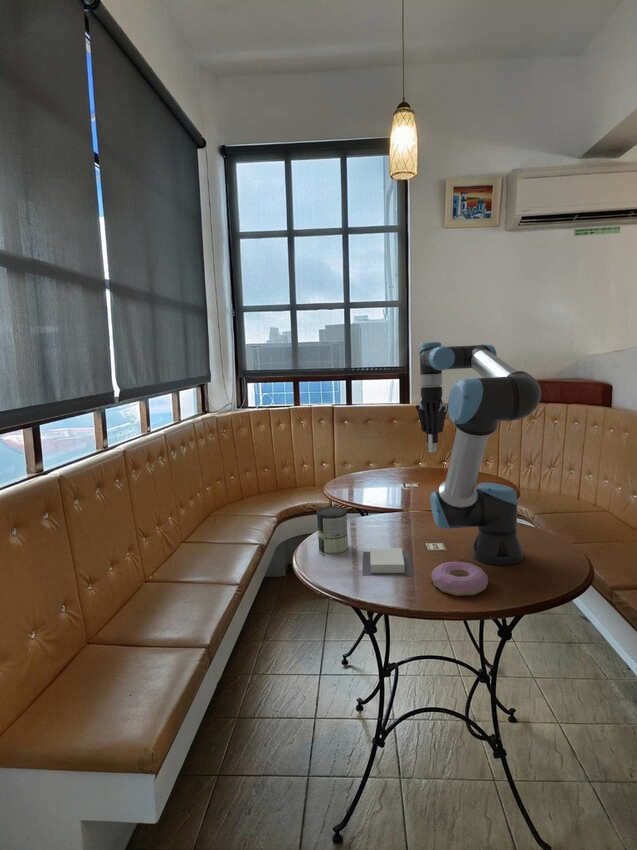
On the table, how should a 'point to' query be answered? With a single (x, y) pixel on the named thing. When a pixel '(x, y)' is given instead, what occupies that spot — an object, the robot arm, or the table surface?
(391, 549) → the tile
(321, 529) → the coffee can
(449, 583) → the donut
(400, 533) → the table surface
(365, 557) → the mat
